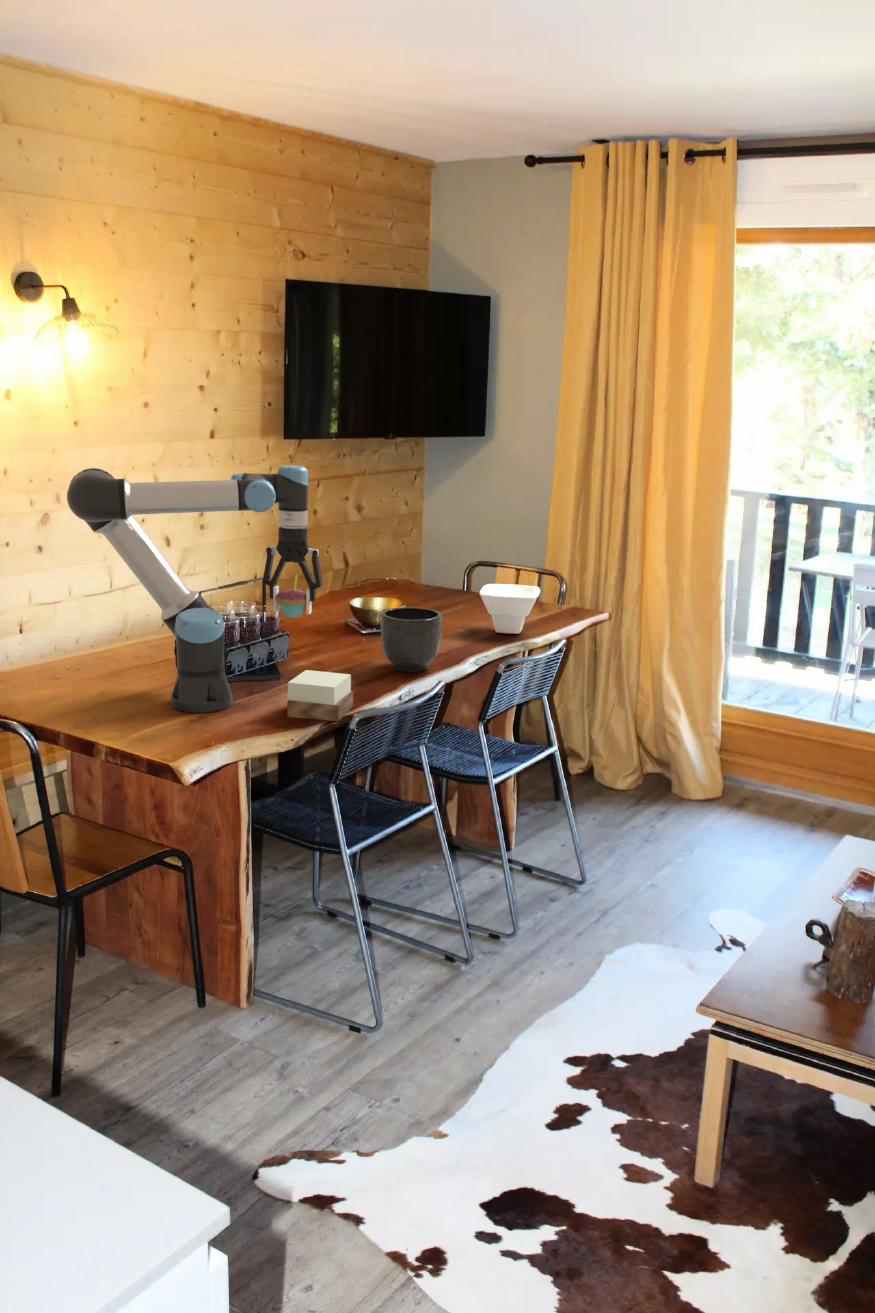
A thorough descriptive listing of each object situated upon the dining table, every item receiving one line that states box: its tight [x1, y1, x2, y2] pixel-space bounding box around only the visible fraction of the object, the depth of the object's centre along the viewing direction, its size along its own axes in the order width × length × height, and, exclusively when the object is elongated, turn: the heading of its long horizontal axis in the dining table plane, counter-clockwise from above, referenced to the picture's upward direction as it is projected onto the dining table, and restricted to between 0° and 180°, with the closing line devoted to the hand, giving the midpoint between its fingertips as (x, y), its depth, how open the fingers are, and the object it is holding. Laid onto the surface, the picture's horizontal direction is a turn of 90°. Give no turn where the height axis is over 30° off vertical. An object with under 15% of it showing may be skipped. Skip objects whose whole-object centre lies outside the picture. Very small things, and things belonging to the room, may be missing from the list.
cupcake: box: [275, 571, 306, 618], centre depth 304 cm, size 9×8×12 cm
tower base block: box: [286, 690, 354, 722], centre depth 288 cm, size 13×13×4 cm
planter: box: [380, 606, 443, 673], centre depth 327 cm, size 17×17×16 cm
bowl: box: [479, 583, 541, 635], centre depth 372 cm, size 19×19×14 cm
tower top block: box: [287, 669, 352, 705], centre depth 287 cm, size 12×12×4 cm
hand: (292, 612), depth 305 cm, fingers closed on cupcake, 8 cm apart
